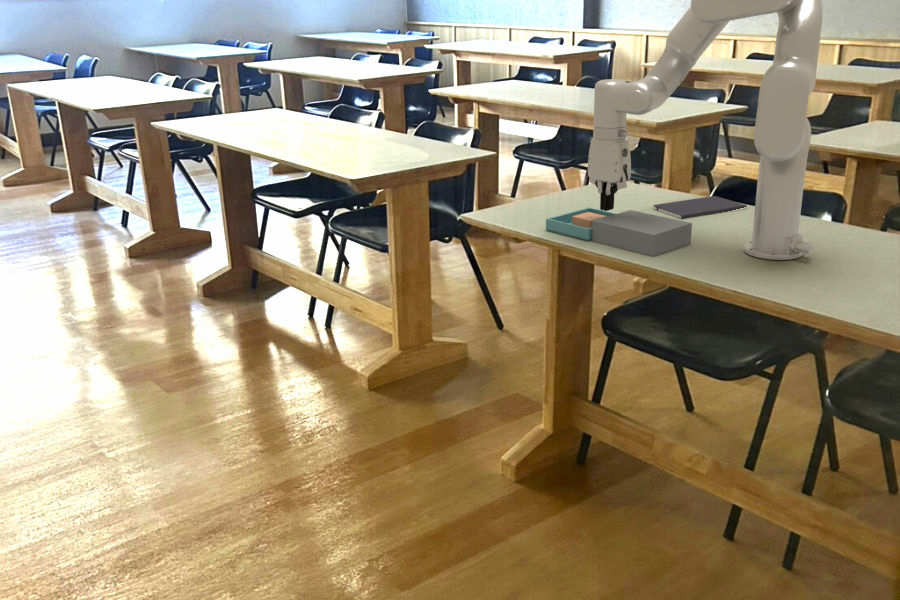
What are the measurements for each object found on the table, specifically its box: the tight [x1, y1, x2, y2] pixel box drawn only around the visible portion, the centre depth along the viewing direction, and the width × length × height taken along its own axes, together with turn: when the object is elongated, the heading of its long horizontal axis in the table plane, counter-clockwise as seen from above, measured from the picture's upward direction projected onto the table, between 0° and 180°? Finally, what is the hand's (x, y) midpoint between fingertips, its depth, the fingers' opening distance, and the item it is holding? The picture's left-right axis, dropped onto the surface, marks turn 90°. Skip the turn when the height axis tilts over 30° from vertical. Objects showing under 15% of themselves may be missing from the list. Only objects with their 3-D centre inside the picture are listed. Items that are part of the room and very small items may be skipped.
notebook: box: [652, 195, 747, 220], centre depth 232 cm, size 13×2×21 cm
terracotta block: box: [572, 212, 607, 228], centre depth 216 cm, size 6×6×3 cm
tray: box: [545, 207, 617, 242], centre depth 216 cm, size 14×16×3 cm
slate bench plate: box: [591, 209, 693, 257], centre depth 204 cm, size 18×14×5 cm
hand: (606, 209), depth 210 cm, fingers closed
